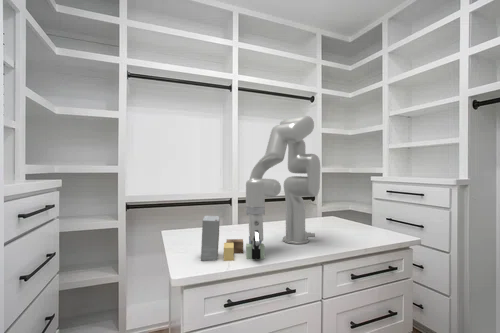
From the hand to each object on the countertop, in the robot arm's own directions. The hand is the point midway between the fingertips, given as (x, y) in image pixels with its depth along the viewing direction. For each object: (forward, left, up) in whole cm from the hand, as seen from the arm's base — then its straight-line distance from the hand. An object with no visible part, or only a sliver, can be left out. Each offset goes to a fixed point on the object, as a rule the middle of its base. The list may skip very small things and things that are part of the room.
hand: (255, 255), depth 100 cm
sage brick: (0, 0, -1) cm, 1 cm away
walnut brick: (+8, -7, -1) cm, 11 cm away
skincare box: (+18, -1, -1) cm, 18 cm away
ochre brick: (+10, -1, -1) cm, 11 cm away
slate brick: (-1, -11, -1) cm, 11 cm away
